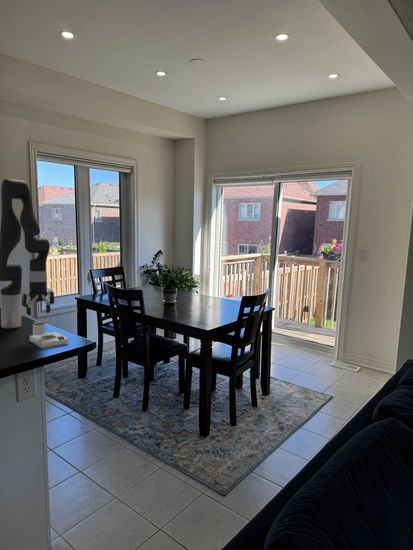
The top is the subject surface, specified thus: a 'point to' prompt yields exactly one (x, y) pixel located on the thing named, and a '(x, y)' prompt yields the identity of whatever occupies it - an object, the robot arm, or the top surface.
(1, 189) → the robot arm
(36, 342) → the socket
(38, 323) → the plug
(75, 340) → the top surface
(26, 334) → the top surface
